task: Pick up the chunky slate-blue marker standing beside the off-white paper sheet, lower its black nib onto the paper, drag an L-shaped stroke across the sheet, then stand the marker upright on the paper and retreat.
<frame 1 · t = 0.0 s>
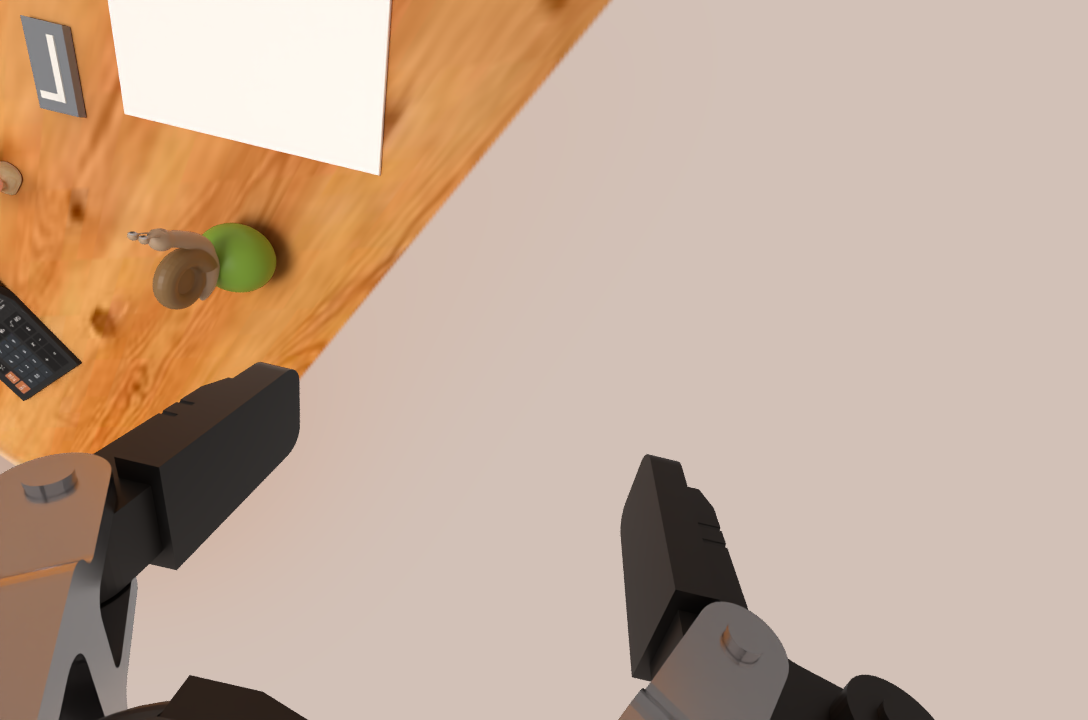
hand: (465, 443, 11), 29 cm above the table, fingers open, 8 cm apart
letter card: (58, 69, 36), on the table
calculator: (12, 331, 47), on the table
snail figurine: (260, 245, 40), on the table
paper: (248, 5, 33), on the table
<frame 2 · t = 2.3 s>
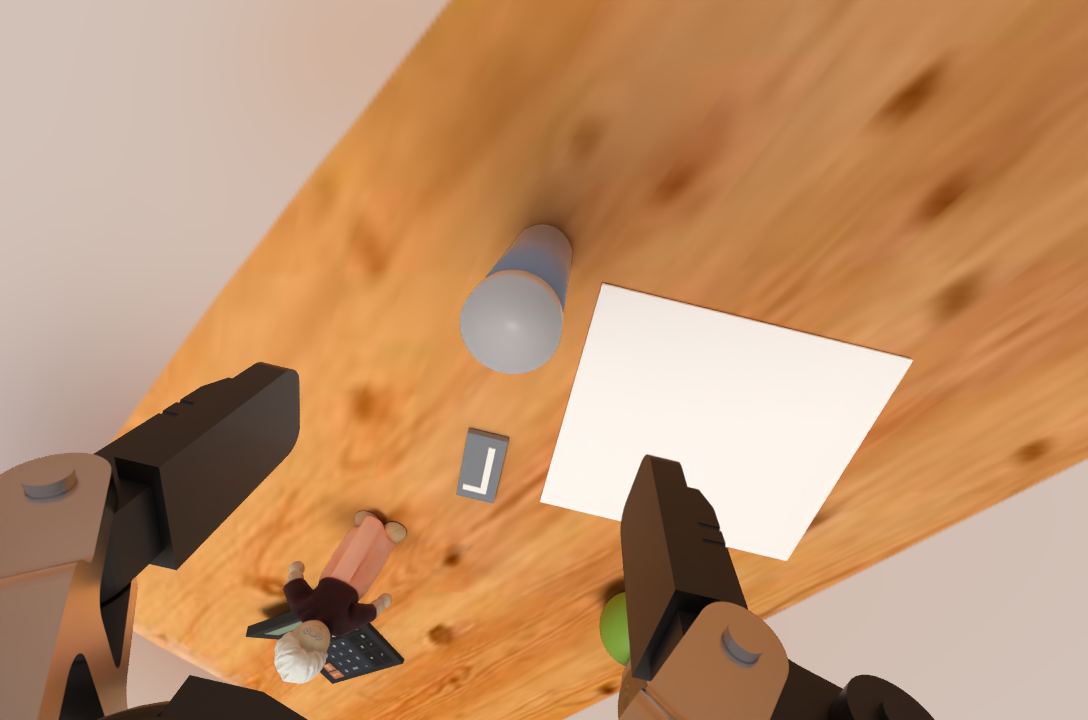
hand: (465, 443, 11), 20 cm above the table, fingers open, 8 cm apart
letter card: (482, 464, 36), on the table
calculator: (336, 628, 47), on the table
snail figurine: (632, 593, 41), on the table
paper: (704, 436, 33), on the table
grandmother figurine: (374, 523, 40), on the table
marker: (543, 251, 29), on the table
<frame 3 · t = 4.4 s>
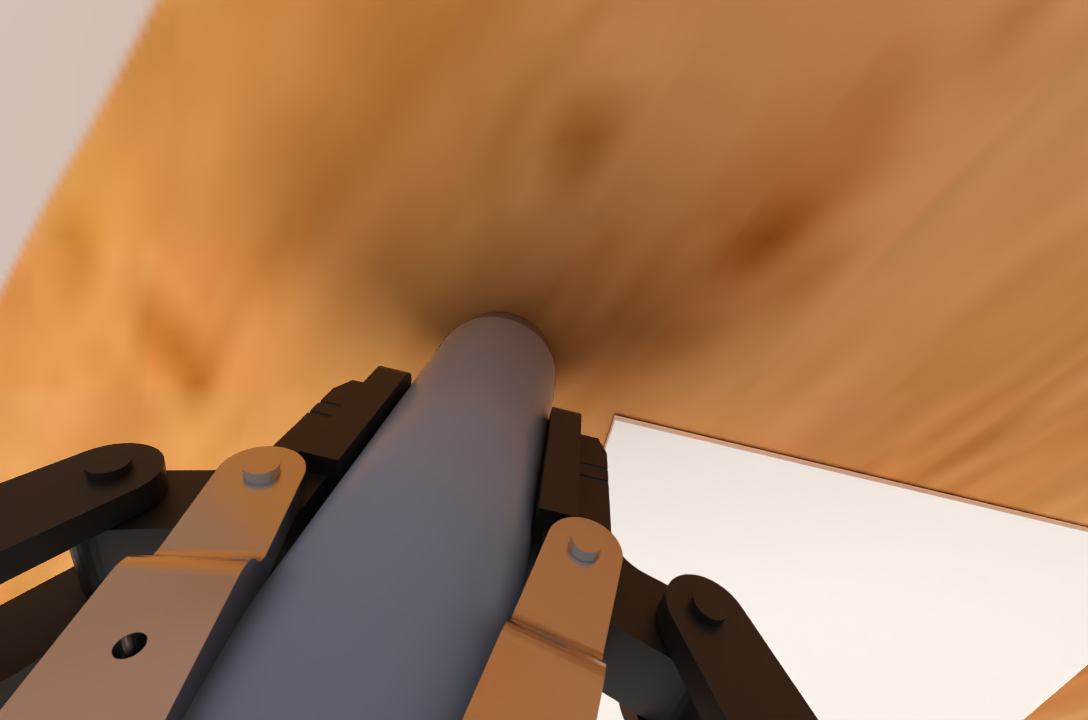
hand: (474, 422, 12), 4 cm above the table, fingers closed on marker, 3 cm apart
paper: (789, 652, 19), on the table
marker: (501, 359, 15), on the table, touching gripper
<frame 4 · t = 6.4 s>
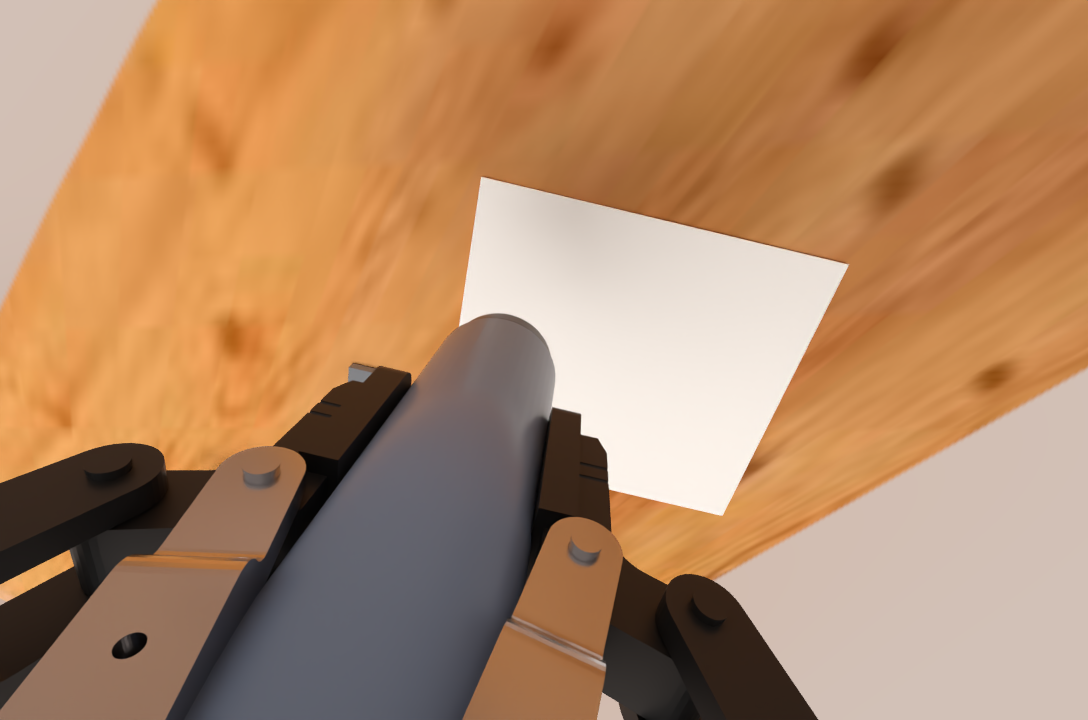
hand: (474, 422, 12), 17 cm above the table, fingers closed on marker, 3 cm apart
letter card: (373, 407, 32), on the table
paper: (618, 367, 29), on the table
marker: (501, 360, 15), point 13 cm above the table, touching gripper
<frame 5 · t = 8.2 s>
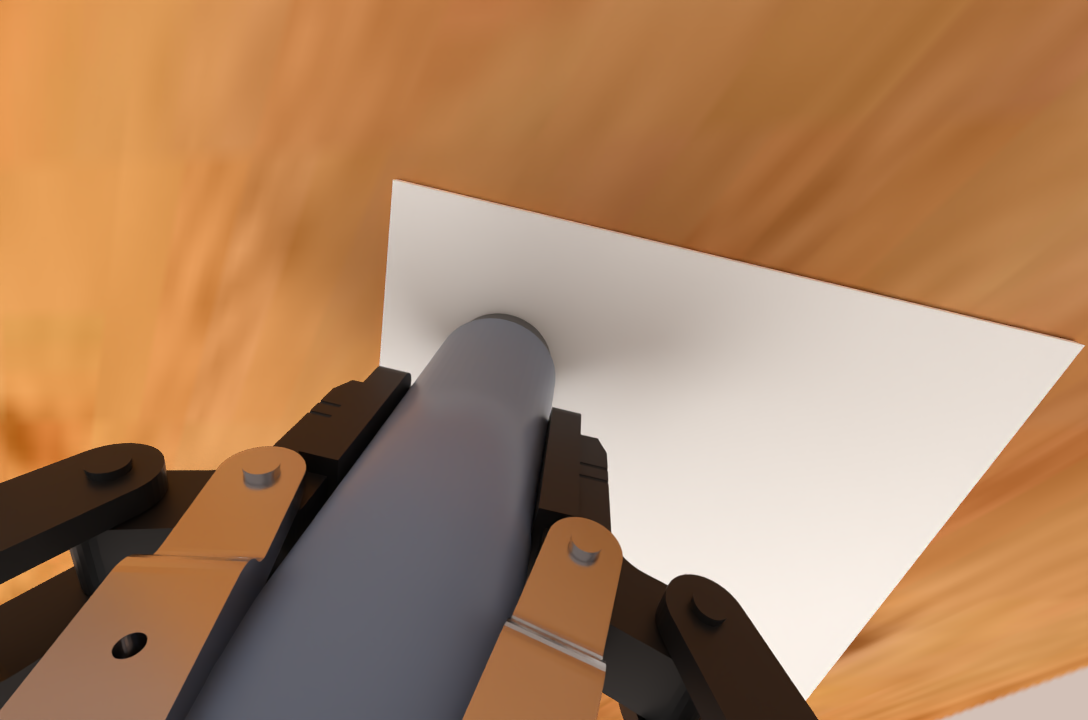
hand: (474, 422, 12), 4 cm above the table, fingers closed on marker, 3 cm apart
paper: (643, 498, 17), on the table
marker: (501, 361, 15), resting on paper, touching gripper
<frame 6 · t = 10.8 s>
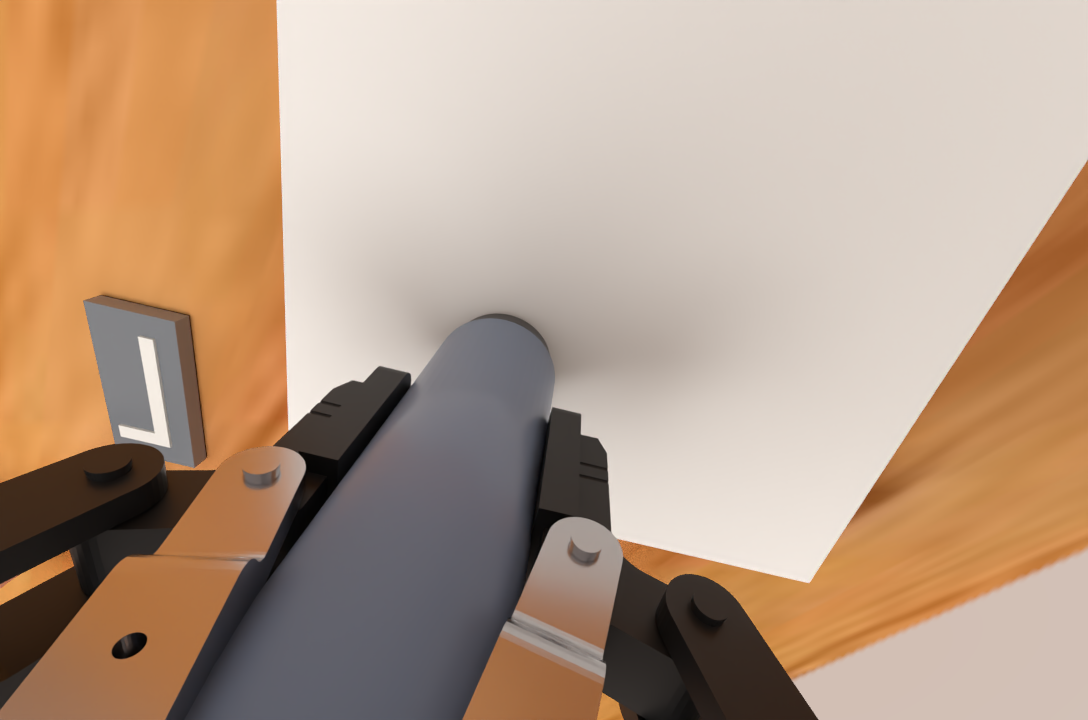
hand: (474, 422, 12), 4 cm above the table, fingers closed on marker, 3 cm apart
letter card: (157, 382, 17), on the table
paper: (615, 295, 14), on the table
marker: (500, 361, 15), resting on paper, touching gripper
when the fingers open (4 cm above the table, at t = 12.3 s): marker stays where it is, resting on paper.
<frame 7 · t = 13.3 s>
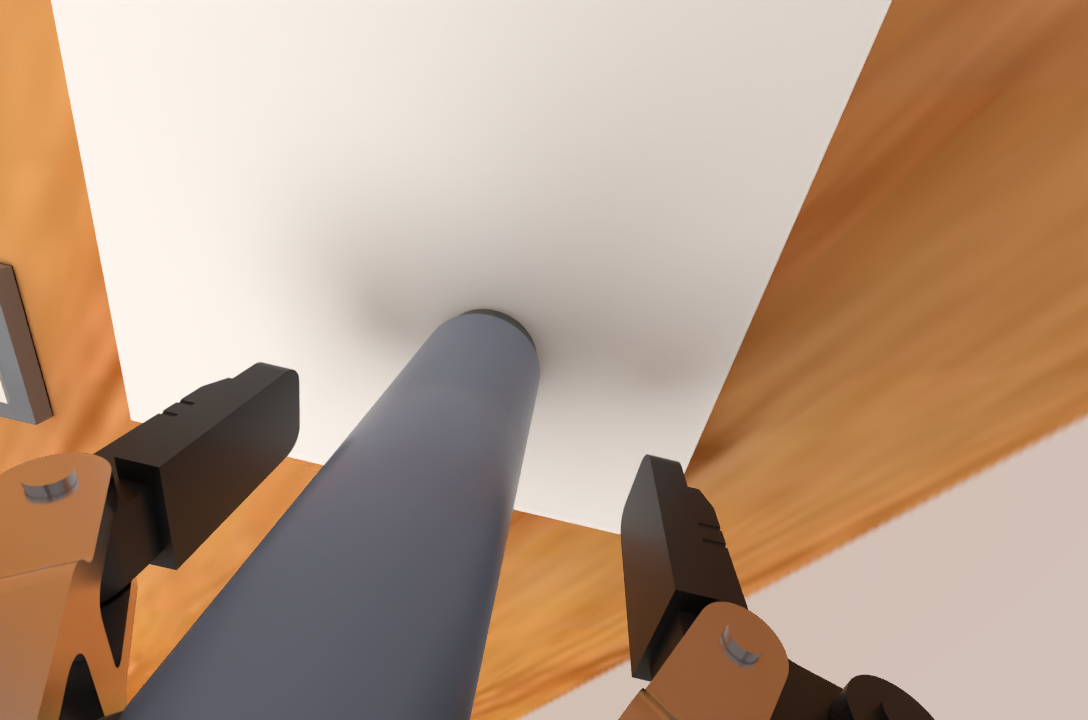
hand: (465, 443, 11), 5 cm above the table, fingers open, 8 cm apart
paper: (422, 242, 14), on the table
marker: (487, 356, 15), resting on paper
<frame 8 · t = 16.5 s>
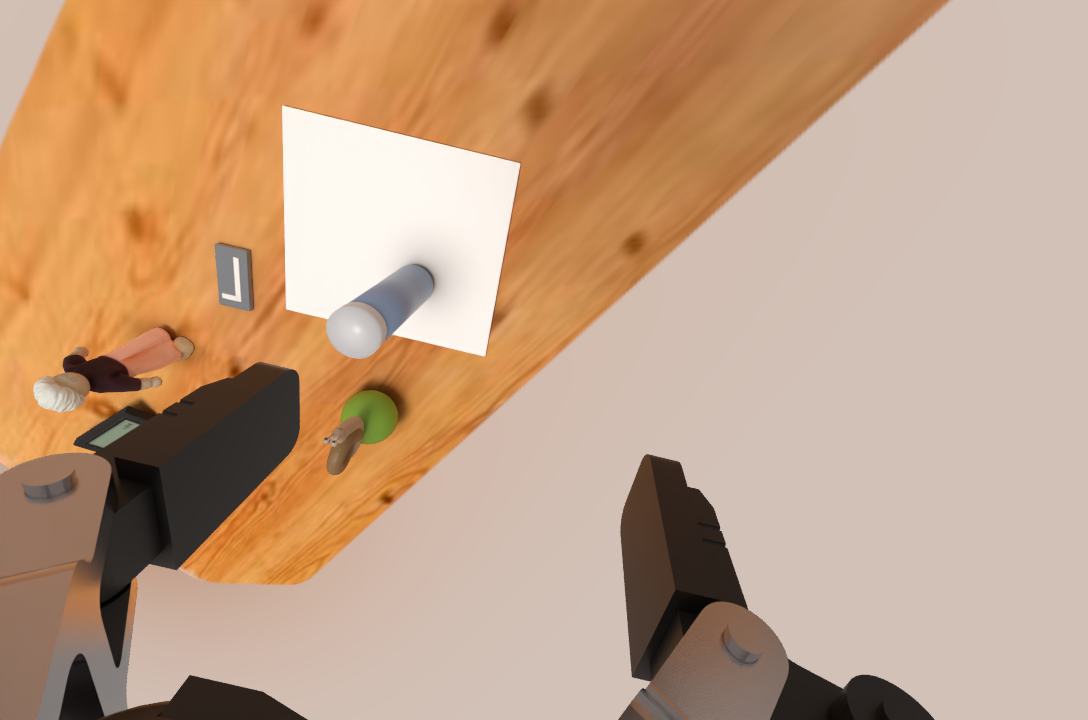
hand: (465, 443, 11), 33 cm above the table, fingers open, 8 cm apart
letter card: (236, 277, 45), on the table
calculator: (159, 448, 56), on the table
snail figurine: (382, 399, 50), on the table
paper: (394, 242, 43), on the table
grandmother figurine: (168, 340, 49), on the table
marker: (417, 281, 44), resting on paper
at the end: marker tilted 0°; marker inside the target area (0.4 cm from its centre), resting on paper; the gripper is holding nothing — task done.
